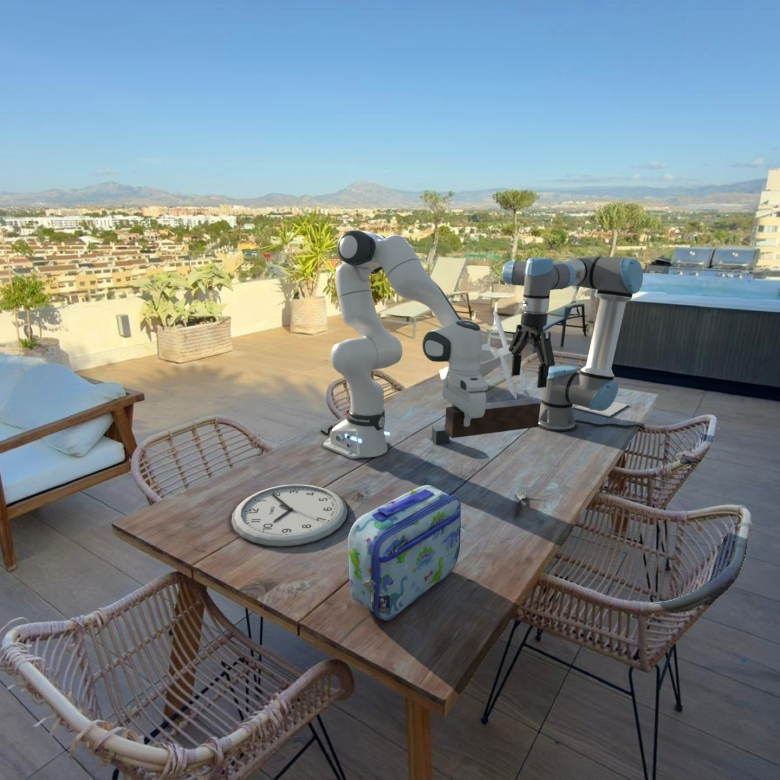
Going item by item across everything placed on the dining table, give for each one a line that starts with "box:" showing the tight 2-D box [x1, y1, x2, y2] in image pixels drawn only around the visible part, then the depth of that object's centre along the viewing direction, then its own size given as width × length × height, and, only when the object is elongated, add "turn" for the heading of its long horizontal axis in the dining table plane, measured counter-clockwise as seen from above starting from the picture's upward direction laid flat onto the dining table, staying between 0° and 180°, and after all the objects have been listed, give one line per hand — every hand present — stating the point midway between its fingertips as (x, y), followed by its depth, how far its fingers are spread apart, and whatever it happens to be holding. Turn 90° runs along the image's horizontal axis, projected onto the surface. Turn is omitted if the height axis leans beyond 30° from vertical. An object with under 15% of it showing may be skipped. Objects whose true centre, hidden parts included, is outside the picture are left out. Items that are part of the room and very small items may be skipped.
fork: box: [515, 484, 528, 518], centre depth 145 cm, size 3×16×2 cm, turn 160°
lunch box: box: [347, 484, 462, 621], centre depth 107 cm, size 26×11×21 cm, turn 134°
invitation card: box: [573, 401, 629, 418], centre depth 226 cm, size 21×1×15 cm
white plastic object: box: [438, 310, 531, 400], centre depth 245 cm, size 37×45×31 cm
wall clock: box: [231, 483, 348, 547], centre depth 138 cm, size 30×2×30 cm
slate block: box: [431, 424, 451, 445], centre depth 186 cm, size 5×5×5 cm
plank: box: [444, 397, 541, 439], centre depth 159 cm, size 30×5×8 cm, turn 110°
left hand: (460, 421), depth 156 cm, fingers closed on plank, 5 cm apart
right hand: (528, 381), depth 160 cm, fingers open, 13 cm apart
